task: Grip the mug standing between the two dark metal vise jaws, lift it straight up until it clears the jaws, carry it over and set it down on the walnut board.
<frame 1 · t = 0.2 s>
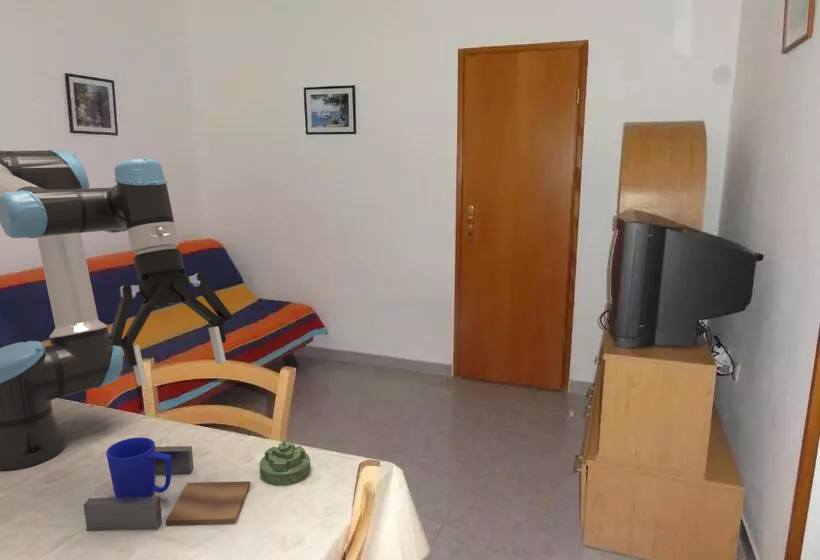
hand: (183, 373, 101), 27 cm above the table, tool tilted 15°, fingers open, 13 cm apart
walnut board: (210, 504, 110), on the table
vise jaws: (144, 496, 112), on the table
mug: (145, 498, 112), on the table
decorative artifact: (285, 473, 121), on the table
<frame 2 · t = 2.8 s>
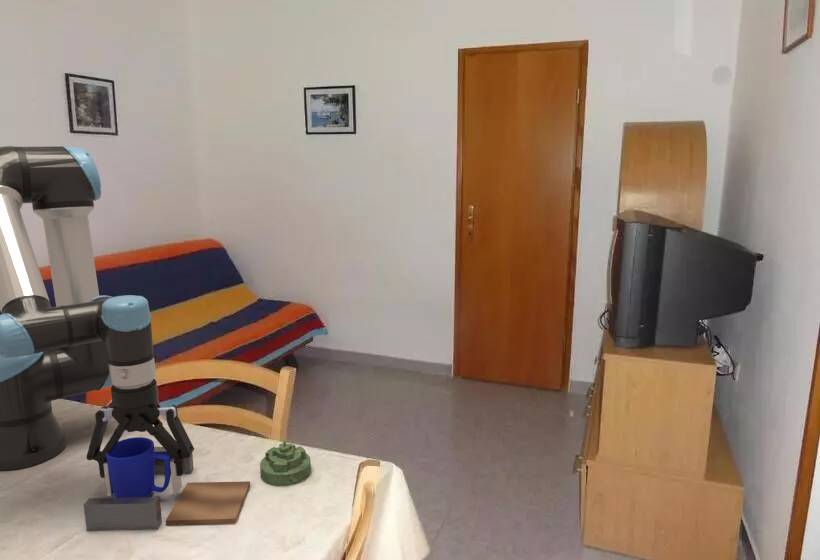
hand: (145, 491, 112), 1 cm above the table, tool pointing down, fingers closed on mug, 11 cm apart
mug: (144, 497, 112), on the table, touching gripper
everything else where it was.
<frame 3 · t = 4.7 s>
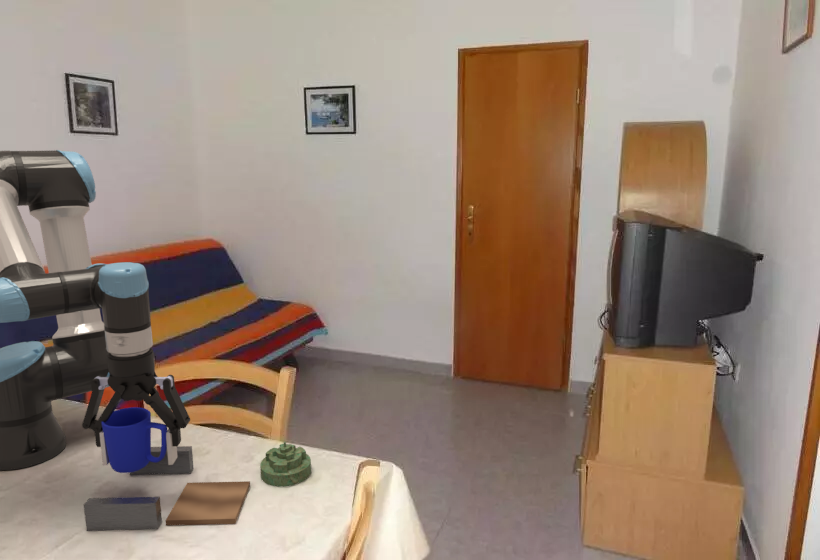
hand: (140, 461, 111), 7 cm above the table, tool pointing down, fingers closed on mug, 11 cm apart
mug: (140, 467, 111), point 6 cm above the table, touching gripper
everything else where it was.
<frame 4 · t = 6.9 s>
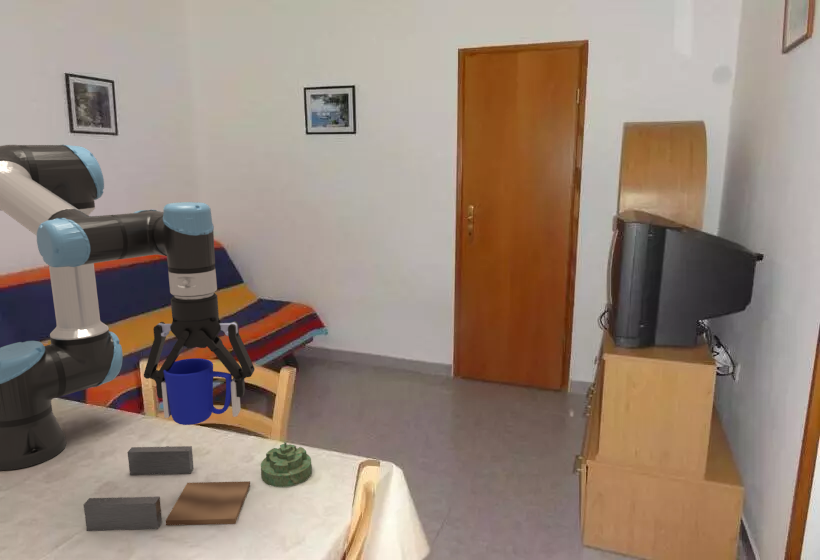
hand: (203, 413, 106), 18 cm above the table, tool pointing down, fingers closed on mug, 11 cm apart
mug: (202, 420, 106), point 17 cm above the table, touching gripper
everything else where it was.
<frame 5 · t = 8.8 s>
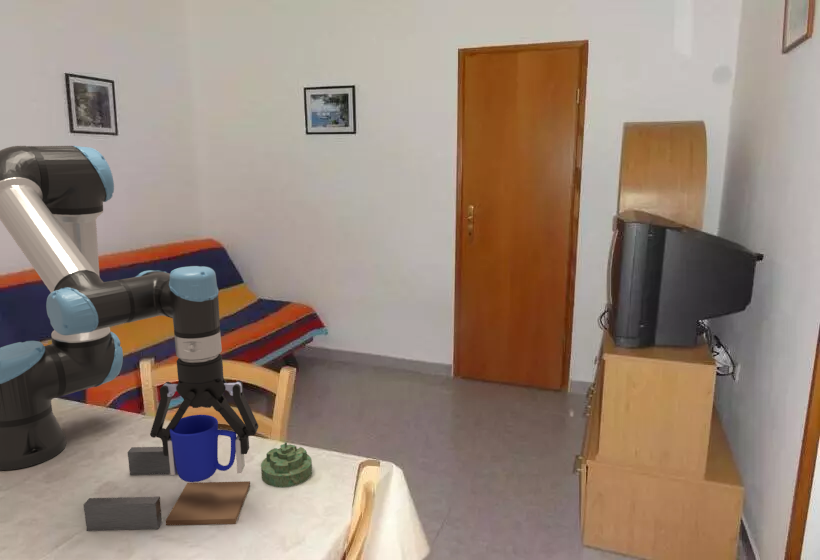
hand: (208, 470, 108), 7 cm above the table, tool pointing down, fingers closed on mug, 11 cm apart
mug: (207, 476, 109), point 6 cm above the table, touching gripper
everything else where it was.
when the fingers open (3 cm above the table, at t = 10.6 s): mug drops 1 cm, resting on walnut board.
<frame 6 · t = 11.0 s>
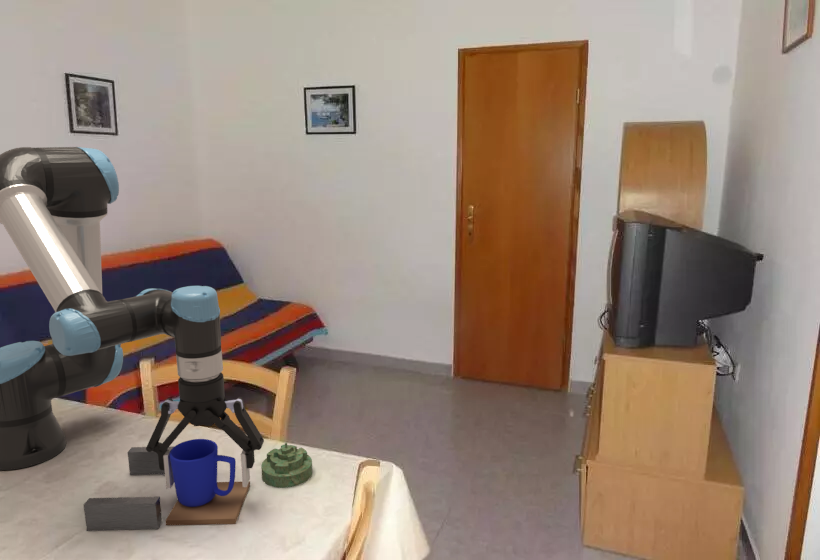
hand: (208, 484, 109), 4 cm above the table, tool pointing down, fingers open, 13 cm apart
mug: (206, 501, 110), point 1 cm above the table, touching gripper, walnut board
everything else where it was.
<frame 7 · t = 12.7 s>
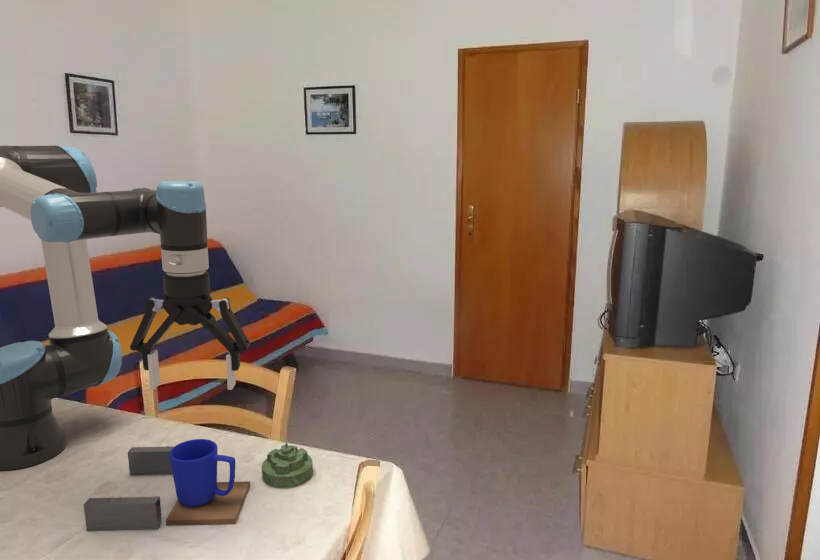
hand: (193, 386, 107), 22 cm above the table, tool pointing down, fingers open, 13 cm apart
mug: (206, 501, 110), point 1 cm above the table, touching walnut board
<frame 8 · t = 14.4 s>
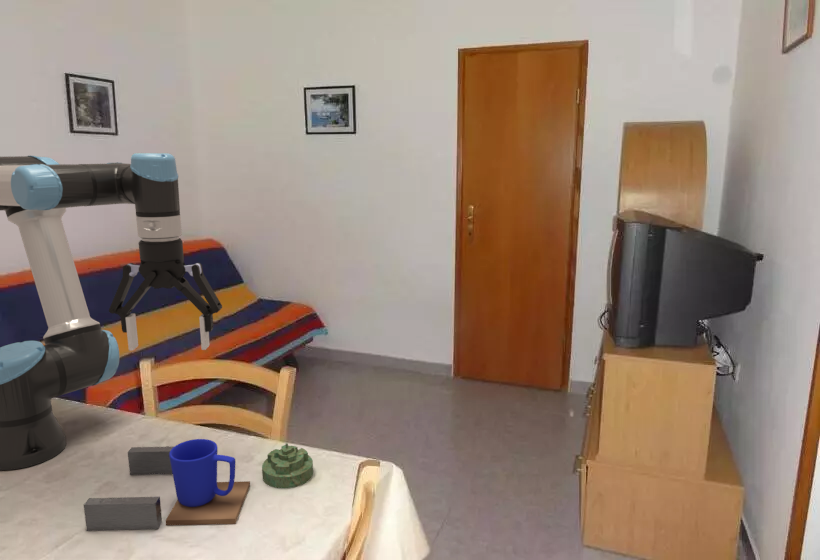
hand: (169, 348, 114), 27 cm above the table, tool pointing down, fingers open, 13 cm apart
at the end: mug inside the target area on the walnut board (0.5 cm from its centre), point 0.8 cm above the walnut board's base; mug tilted 0°; the gripper is holding nothing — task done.
